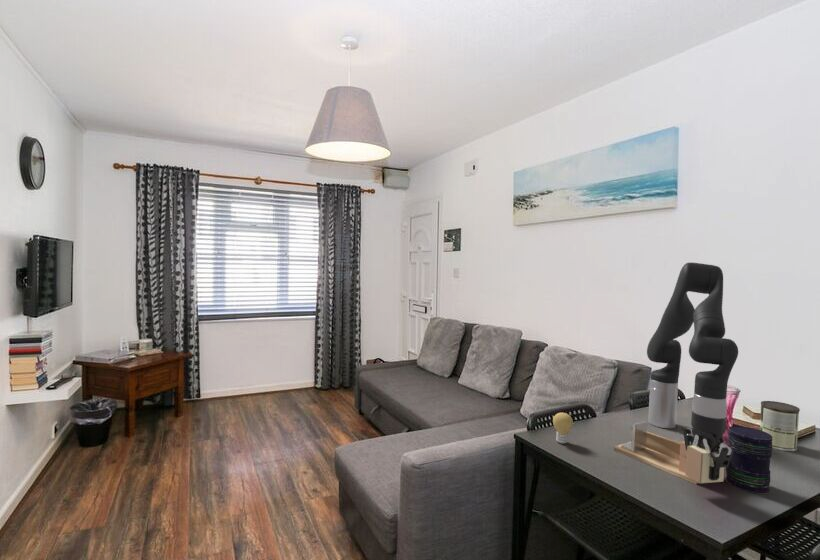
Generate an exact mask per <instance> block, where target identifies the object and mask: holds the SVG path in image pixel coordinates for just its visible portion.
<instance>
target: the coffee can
mask: <svg viewBox="0 0 820 560" xmlns="http://www.w3.org/2000/svg"><path fill="white" fill-rule="evenodd" d="M800 411H801V409H800V407H798V406H796V405H793V404H789V403H785V402H782V401H781V402H780V401H775V400H763V401H762V400H761V401H760V418H759V419H760V421H759V430H761V431H764V432H766V433H768V434H770V435H771V436H772V437H773V439H772V449H774V450H778V451H783V452H785V451H786V452H795V451H798V434H799V418H800Z"/></svg>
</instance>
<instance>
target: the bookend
mask: <svg viewBox="0 0 820 560" xmlns="http://www.w3.org/2000/svg"><path fill="white" fill-rule="evenodd" d="M648 424H649V422H648V420H642V421H638V422H635V423H632V427H633V432H632V442H631V441H629V442H630V443H628V442H626V443H627V444H624V443H622V444H623V445H621V444H620V445H621V447H622V448H624V449H627V450H629V451H631V452H637V451H640V450H643V449H646V442H647V432H648Z"/></svg>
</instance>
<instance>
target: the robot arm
mask: <svg viewBox="0 0 820 560" xmlns="http://www.w3.org/2000/svg"><path fill="white" fill-rule="evenodd" d="M688 292H691V293H697V294H703V295H704V294H705V295H707V297H706V298H705V299H704V300H702V301H701V302H700V303H699V304H697V305H696V307H695V306H694V305H693V303H692V302H691V300H690V298H689V296H688ZM723 301H724V273H723V270H722V268H721V267H720V266H717V265H713V264H709V263H707V264H706V263H700V262H686V263H685V264H684V265H683V266H682V267H681V269H680V271H679V274H678V276H677V280H676V283H675V286H674V290H673V292H672V295H671V298H670V300H669V302H668V303H667V306H666V308H664V309H665V310H664V311H663V314H662V316H661V318H660V323H659V324H658V327H657V328H656V330H655V332H654V334H653V335H652V337H651V338H650V340H649V342H648V345H647V348H646V356H647V358H648V360H649V361H651V362H653V363H656V364H657V363H658V364H666V365H665V366H664V367H662V368H659V369H655V370H652V371H651V372H650V378H649V379H650V383H649V384H650V385H649V398H648V399H649V401H648V402H649V403H648V417H647V418H648V420H647V421H648V424H650V425H652V426H654V427H657V428H662V429H675V428H676V426H677V418H678V417H677V414H678V389H679V378H680V368H681V359H682V345H681V342H679V340H677V338H679V337H681V336H683V335H685V334H687V332H688V331H690V329H691V327H692V325H693V327H694V330H693V331H694V332H693V336H692V338H691V340H690V343H689V346H688V354H689V356H690V358H691V359H692V360H693V361H694V362H696V363H699V364H708V365H717V367H716V368H715V369H713V370H708V371H707V370H706V371H703V370H702V371H699V372H697V373H696V374H695V377H694V390H693V391H694V392H693V397H692V402H691V403H692V406H691V420H690V426H691V428H690V427H686V428H685V427H684V428H683V429H682V433H683V441H685V447H686V450H687V446H690V442H691V446H696V447H700V448H703V449H704V450H706V452H707V453H708V456H709V457H710V465H711V466H710V467H709V479H710V480H718V479H719V474H720V468H722V467H724V468H726V467H728V465H729V463H730V460H731V458H732V455H733V453H734V448H733V447H728V445H727V444H725V441H724V437H723V436H724V434H725V433H726V427H727V425H726V424H727V413H728V412H727V409H728V405H727V403H728V402H727V397H728V396H727V394H728V393H727V392H728V383H729V379H730V375H731V372H732V369H733V368H734V365H735V363H736V361H737V360H738V357H739V347H738V345H737V344H736V342H735V340H732V339H730V338H726V337H725V335H726V326H725V320H724V316H723V315H724V314H723ZM724 337H725V338H724ZM715 451H716V452H718V453H717V454H712V452H715ZM714 457H716V462H715V460H714Z"/></svg>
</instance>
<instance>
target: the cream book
mask: <svg viewBox="0 0 820 560" xmlns="http://www.w3.org/2000/svg"><path fill="white" fill-rule="evenodd" d="M717 453H718V452H716V451H715V452H712V454H717ZM714 460H715V462H716V457H714ZM710 466H711V465H710V457H709V456H708V453H707V452H706V450H704V449H703V448H700V447H696V446H687V460H686V475H687V476H688V477H690V478H692V479H693V480H695V481H696V482H698V483H697V484H708V483H709V484H710V483H711V484H712V483H721V482H724V477H725V467H722V468H720V474H719V479H718V480H710V479H709V467H710Z"/></svg>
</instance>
